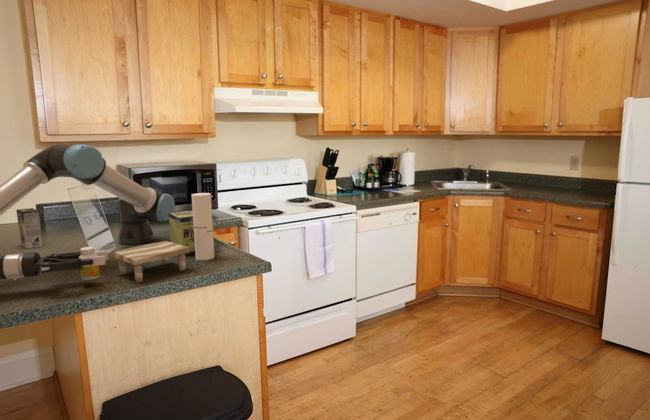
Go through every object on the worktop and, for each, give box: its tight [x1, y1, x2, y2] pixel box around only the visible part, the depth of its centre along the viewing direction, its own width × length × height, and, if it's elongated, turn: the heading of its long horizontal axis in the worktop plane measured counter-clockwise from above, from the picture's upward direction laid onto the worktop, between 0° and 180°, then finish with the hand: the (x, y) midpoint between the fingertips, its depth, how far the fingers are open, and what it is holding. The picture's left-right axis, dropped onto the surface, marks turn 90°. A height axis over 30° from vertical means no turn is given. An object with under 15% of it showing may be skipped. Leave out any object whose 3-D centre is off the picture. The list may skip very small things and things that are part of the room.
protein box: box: [168, 210, 195, 257], centre depth 186 cm, size 10×16×16 cm
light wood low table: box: [112, 240, 189, 283], centre depth 159 cm, size 16×20×8 cm
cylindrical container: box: [191, 192, 215, 261], centre depth 174 cm, size 7×7×25 cm
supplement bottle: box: [79, 246, 100, 281], centre depth 145 cm, size 5×5×10 cm
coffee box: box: [16, 207, 44, 249], centre depth 198 cm, size 9×6×16 cm
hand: (106, 257), depth 147 cm, fingers closed on supplement bottle, 5 cm apart
